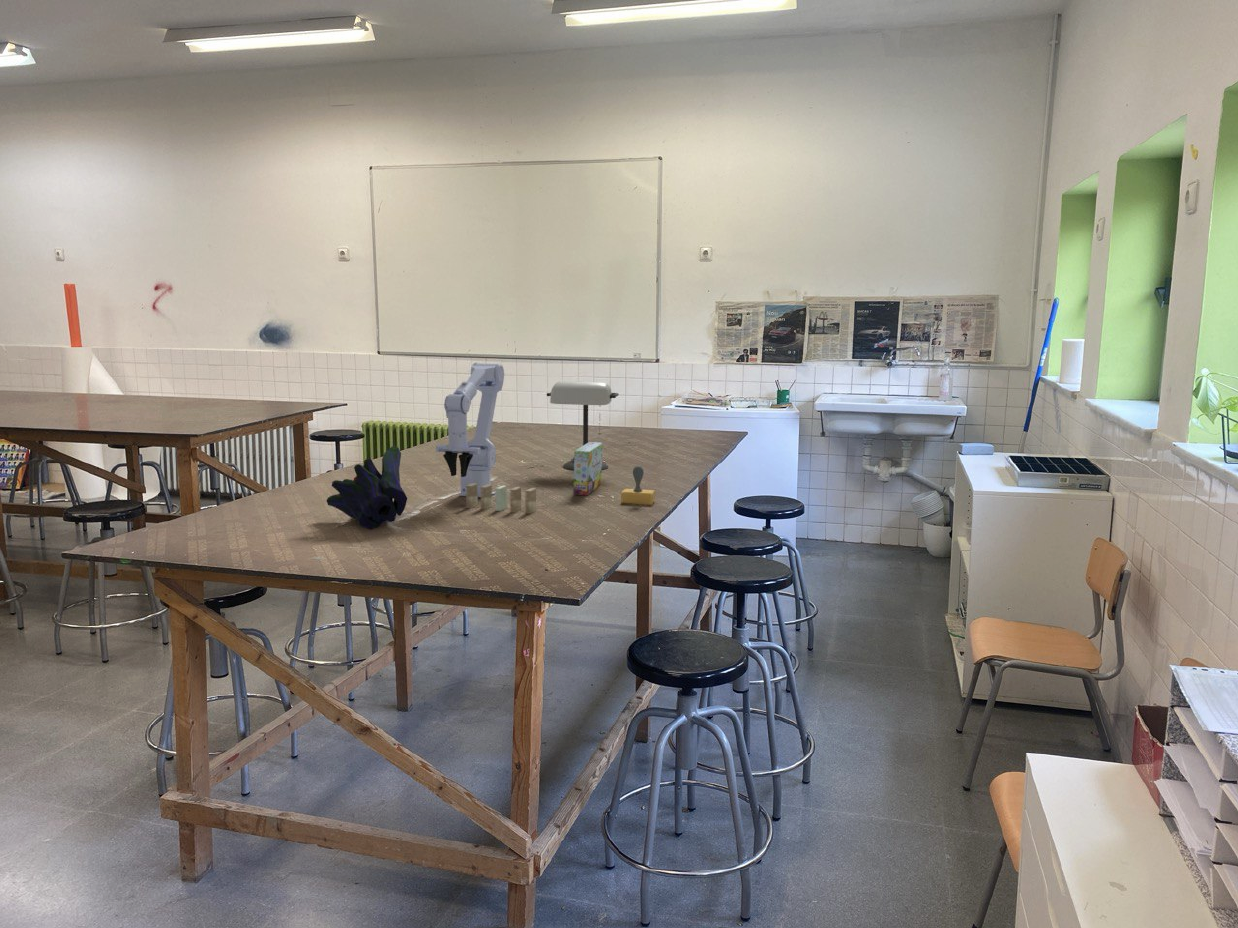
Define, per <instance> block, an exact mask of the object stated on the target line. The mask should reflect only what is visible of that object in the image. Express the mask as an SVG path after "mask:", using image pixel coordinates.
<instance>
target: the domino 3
mask: <svg viewBox="0 0 1238 928" xmlns="http://www.w3.org/2000/svg"><path fill="white" fill-rule="evenodd" d="M507 490H508V486H507V485H500V486H497V487H495V492H496V493H495V512H496V511H497V512H501V511H504V510H506V509H507V508H508V494H507V493H508V491H507Z"/></svg>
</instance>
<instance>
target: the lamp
mask: <svg viewBox="0 0 1238 928" xmlns="http://www.w3.org/2000/svg"><path fill="white" fill-rule="evenodd" d="M619 395H620V394H619V393H618V392H612V388H611V386H610V385H609V384H608V383H607V382H601V381H600V382H598V381H558V382H555V383H554V384H553V385H552V388H551V391H550V392H547V393H546V397H549V398H550V399H549V403H550V404H553V405H576V406H577V405H580V406H581V405H582V406H583V407H582V410H583V412H582V413H583V414H582V418H583V419H582V420H583V421H582V422H583V423H582V446H584V445H585V444H587V443H588V442H589V406H606V405H609V404H610V403H612V399H615V398H617V397H618V396H619ZM598 419H599V420H601V414H599V418H598ZM598 430H599V432H598V434H597V436H601V435H602V432H601V424H599V428H598ZM562 468H563V469H564V470H569V471H574V457H573V458H571V460H569V461H567V462H565V463H564V464H563V465H562ZM608 468H609V465H608V464H607V463H605V462H604V461H602V471H603V470H608Z"/></svg>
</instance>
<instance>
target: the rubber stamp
mask: <svg viewBox="0 0 1238 928" xmlns="http://www.w3.org/2000/svg"><path fill="white" fill-rule="evenodd" d="M632 475H633V479H634V481H635V488H624V489H623V490H622V491H621V496H620V498H621V501H620V503H621V504H629V503H631V504H632V505H634V504H635V505H648V506H653V504H654V502H655V496H656V495H655V490H654V489H653V490H652V489H642V488H641V486H640V485H641V482H642V480H643V478H644V477H643V476H644V468H643V467H642V466H641V465H636V466H634V467H633V469H632Z"/></svg>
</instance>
